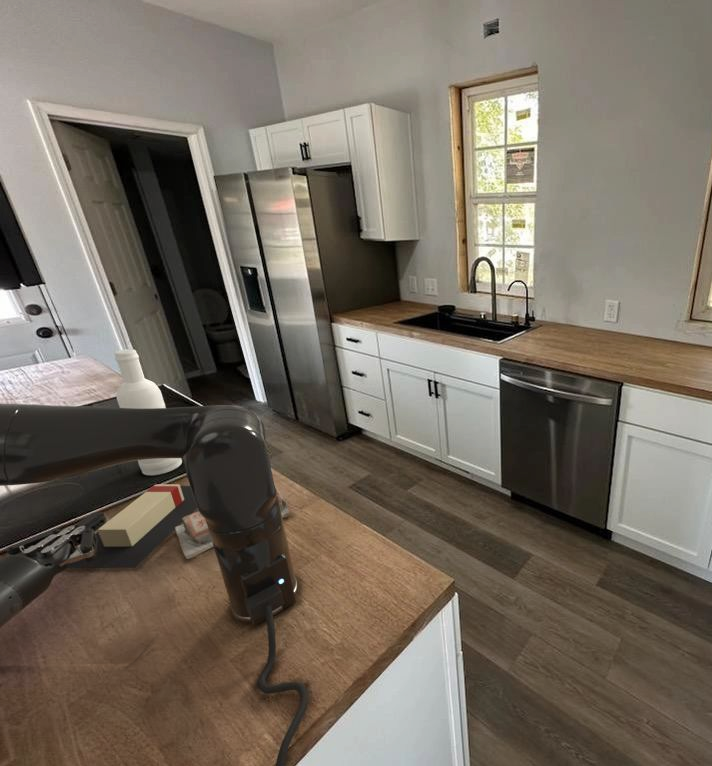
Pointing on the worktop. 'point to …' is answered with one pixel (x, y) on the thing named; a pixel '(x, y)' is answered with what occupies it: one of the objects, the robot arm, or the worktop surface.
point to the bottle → (141, 403)
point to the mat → (146, 544)
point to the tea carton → (141, 515)
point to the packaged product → (205, 531)
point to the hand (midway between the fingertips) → (100, 516)
